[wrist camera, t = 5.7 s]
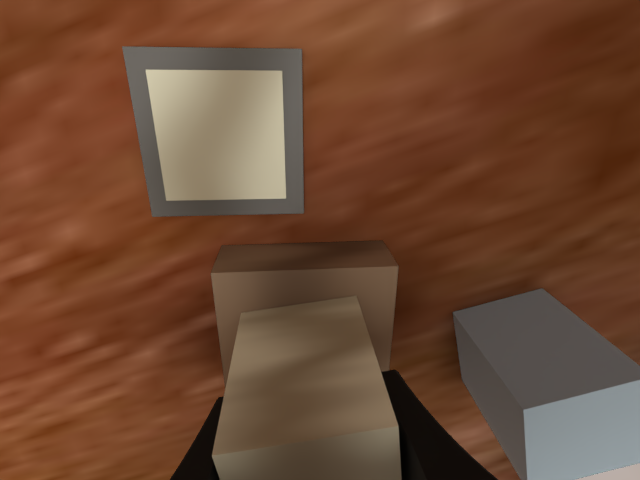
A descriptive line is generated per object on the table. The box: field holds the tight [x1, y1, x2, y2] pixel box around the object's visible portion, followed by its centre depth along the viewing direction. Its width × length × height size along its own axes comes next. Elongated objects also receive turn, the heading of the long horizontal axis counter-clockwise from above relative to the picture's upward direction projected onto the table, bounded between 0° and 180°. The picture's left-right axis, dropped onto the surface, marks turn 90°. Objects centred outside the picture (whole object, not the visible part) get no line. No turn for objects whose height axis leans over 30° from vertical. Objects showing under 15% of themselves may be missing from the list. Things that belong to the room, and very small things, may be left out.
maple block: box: [212, 296, 402, 480], centre depth 13 cm, size 4×4×6 cm
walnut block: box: [211, 240, 399, 389], centre depth 17 cm, size 7×7×3 cm
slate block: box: [453, 288, 640, 480], centre depth 16 cm, size 4×4×6 cm
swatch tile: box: [122, 47, 304, 217], centre depth 14 cm, size 6×6×1 cm
